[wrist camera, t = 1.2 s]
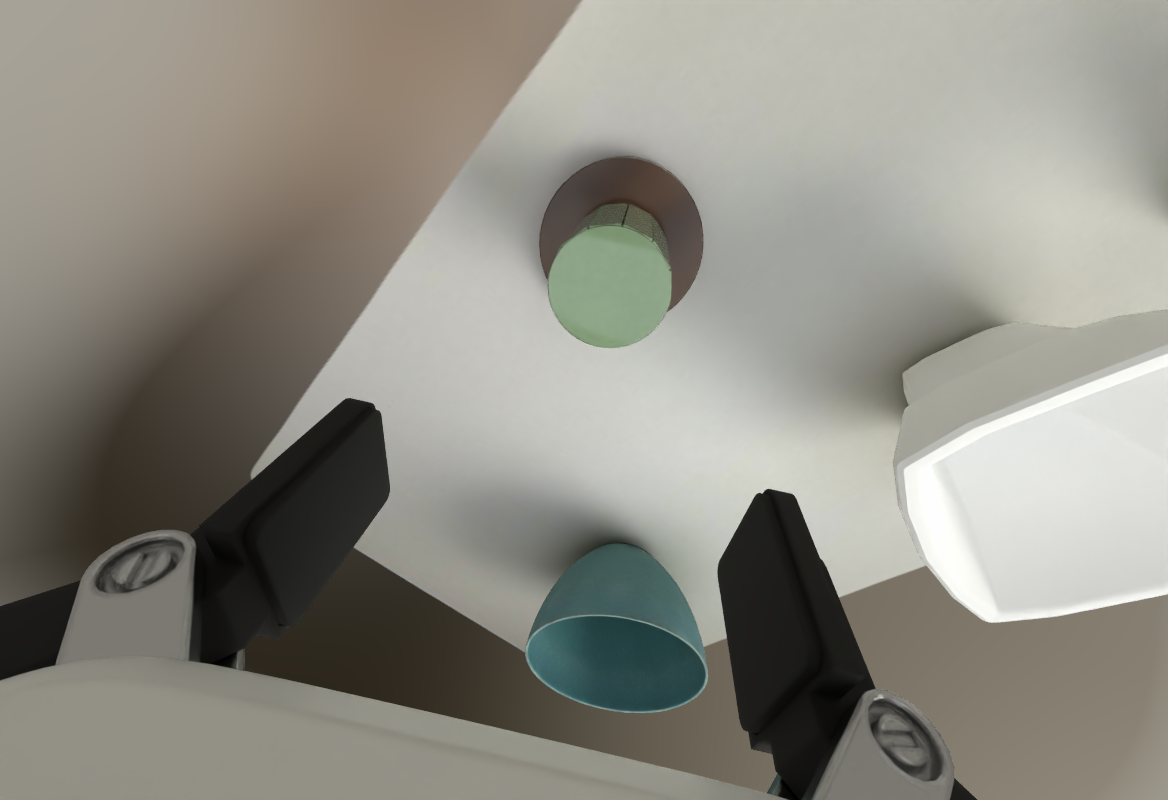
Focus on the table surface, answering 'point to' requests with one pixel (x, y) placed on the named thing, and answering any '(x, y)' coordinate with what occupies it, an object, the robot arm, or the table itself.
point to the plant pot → (618, 635)
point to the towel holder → (628, 185)
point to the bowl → (1041, 466)
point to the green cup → (612, 277)
